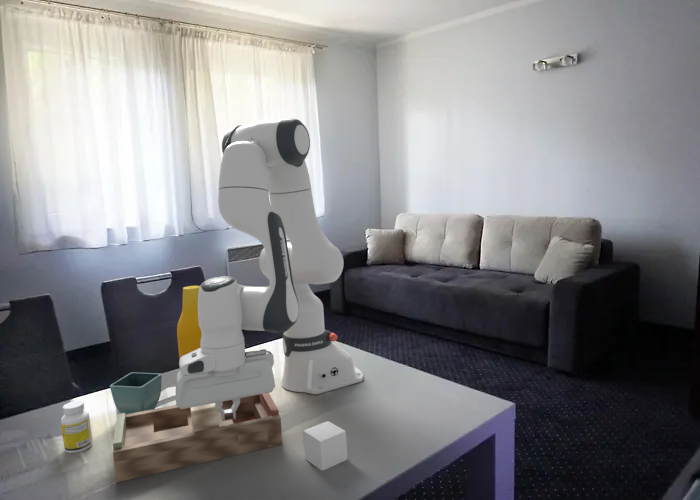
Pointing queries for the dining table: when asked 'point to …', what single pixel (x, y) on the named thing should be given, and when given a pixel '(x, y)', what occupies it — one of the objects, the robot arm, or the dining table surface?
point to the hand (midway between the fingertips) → (228, 419)
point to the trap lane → (191, 437)
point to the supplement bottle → (76, 427)
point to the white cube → (325, 445)
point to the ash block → (204, 417)
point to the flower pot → (137, 392)
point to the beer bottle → (189, 322)
